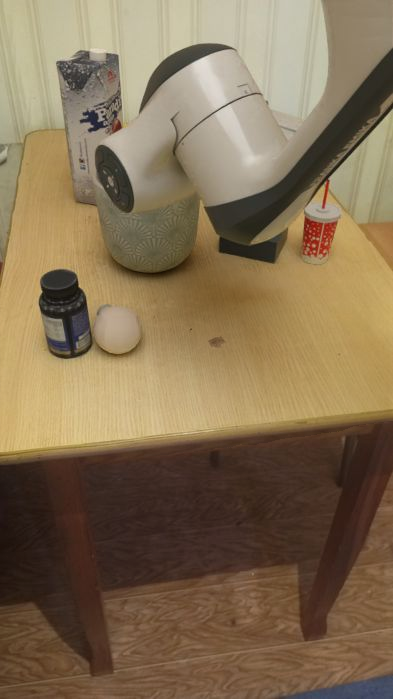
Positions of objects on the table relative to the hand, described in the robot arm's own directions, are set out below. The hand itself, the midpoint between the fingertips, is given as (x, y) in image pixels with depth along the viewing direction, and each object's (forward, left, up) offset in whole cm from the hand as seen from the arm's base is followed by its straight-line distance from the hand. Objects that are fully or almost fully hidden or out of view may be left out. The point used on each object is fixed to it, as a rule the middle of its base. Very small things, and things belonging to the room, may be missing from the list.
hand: (292, 114), depth 72 cm
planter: (+21, -1, -27) cm, 35 cm away
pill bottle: (+22, +24, -27) cm, 43 cm away
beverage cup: (-5, -12, -27) cm, 30 cm away
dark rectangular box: (+6, -12, -27) cm, 30 cm away
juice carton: (+40, -19, -27) cm, 52 cm away
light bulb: (+16, +18, -24) cm, 34 cm away
